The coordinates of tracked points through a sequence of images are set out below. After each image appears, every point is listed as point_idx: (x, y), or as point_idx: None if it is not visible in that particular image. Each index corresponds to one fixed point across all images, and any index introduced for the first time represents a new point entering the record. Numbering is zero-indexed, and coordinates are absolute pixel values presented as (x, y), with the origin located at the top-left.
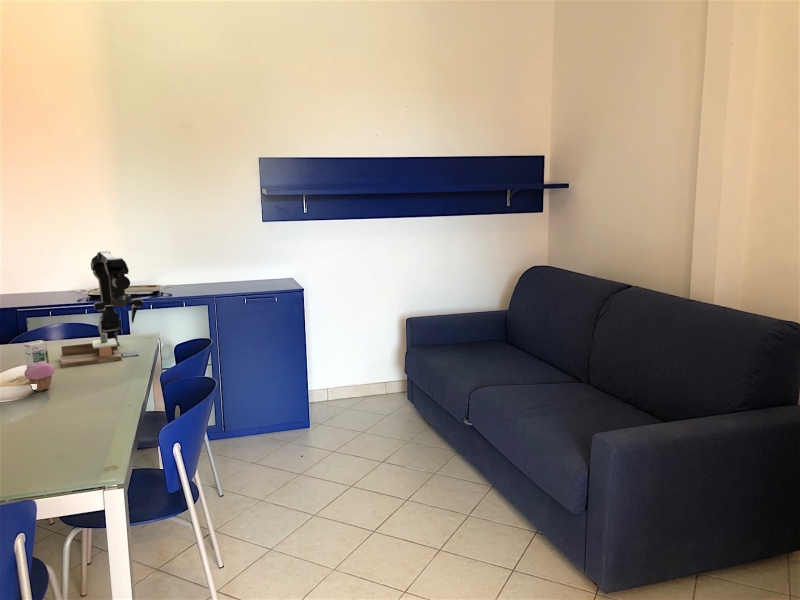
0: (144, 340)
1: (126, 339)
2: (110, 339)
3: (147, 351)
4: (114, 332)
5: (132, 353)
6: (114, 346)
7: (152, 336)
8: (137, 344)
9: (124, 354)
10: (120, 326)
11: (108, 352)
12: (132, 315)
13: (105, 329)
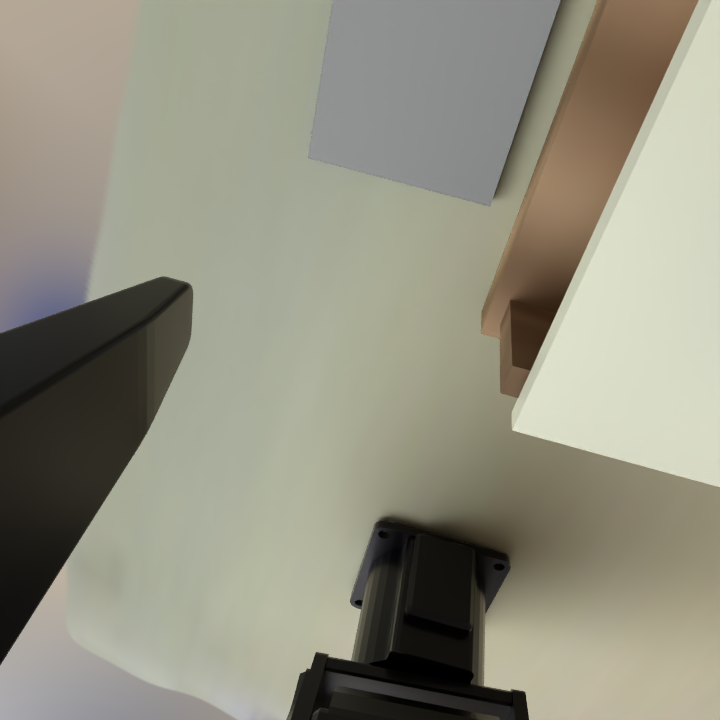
0: (147, 526)
1: (266, 635)
2: (602, 402)
3: (196, 57)
4: (387, 659)
5: (410, 17)
6: (543, 331)
7: (74, 583)
8: (227, 451)
9: (521, 42)
10: (307, 701)
11: None
12: (12, 396)
13: (489, 718)
